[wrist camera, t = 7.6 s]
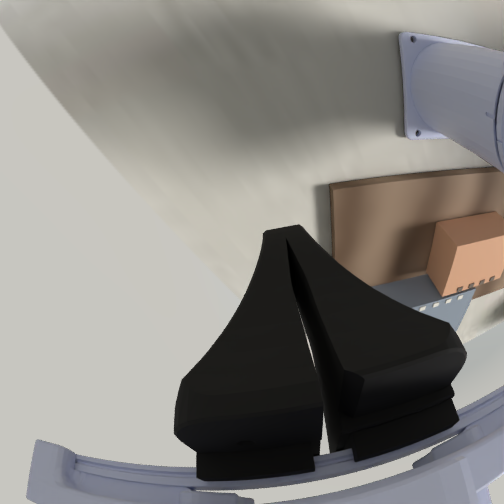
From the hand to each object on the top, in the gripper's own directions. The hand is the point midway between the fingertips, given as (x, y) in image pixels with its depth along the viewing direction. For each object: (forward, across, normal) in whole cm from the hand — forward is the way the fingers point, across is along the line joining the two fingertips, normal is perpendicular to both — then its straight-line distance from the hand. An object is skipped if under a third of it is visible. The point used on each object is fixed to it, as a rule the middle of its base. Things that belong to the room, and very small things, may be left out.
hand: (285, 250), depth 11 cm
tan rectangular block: (+9, -18, +10) cm, 22 cm away
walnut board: (+10, -18, +11) cm, 24 cm away
